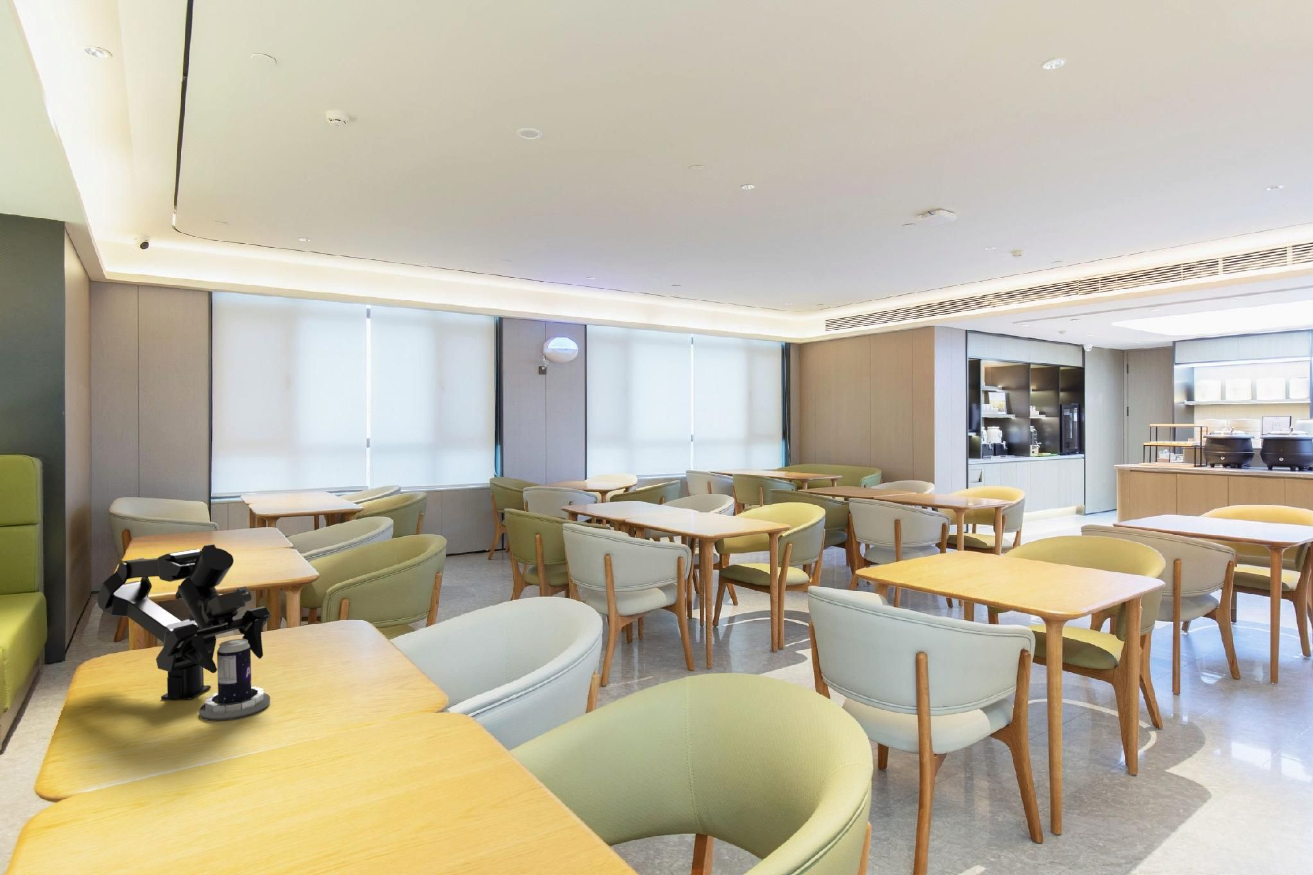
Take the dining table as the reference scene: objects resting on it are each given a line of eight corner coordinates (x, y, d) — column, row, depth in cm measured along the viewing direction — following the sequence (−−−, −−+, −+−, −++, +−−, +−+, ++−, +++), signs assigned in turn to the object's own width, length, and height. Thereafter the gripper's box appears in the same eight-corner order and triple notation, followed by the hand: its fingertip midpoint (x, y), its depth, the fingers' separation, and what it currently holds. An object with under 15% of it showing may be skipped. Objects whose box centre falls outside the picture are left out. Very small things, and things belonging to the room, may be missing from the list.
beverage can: (252, 704, 142) (250, 643, 141) (218, 711, 139) (216, 648, 138) (251, 695, 147) (249, 636, 146) (218, 701, 144) (216, 641, 143)
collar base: (225, 696, 149) (225, 684, 149) (282, 696, 148) (282, 684, 148) (184, 720, 137) (184, 707, 137) (246, 721, 136) (246, 708, 136)
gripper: (170, 586, 136) (207, 653, 131) (264, 567, 152) (300, 626, 147) (147, 622, 139) (182, 689, 135) (242, 600, 156) (276, 659, 151)
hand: (238, 664), depth 142 cm, fingers open, 9 cm apart
